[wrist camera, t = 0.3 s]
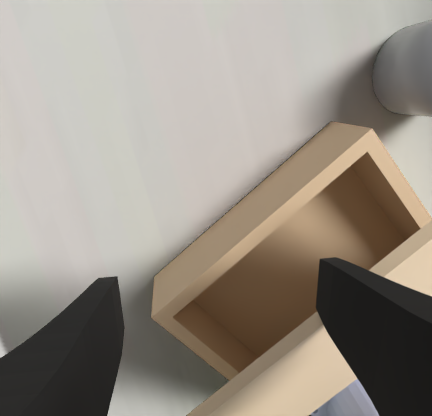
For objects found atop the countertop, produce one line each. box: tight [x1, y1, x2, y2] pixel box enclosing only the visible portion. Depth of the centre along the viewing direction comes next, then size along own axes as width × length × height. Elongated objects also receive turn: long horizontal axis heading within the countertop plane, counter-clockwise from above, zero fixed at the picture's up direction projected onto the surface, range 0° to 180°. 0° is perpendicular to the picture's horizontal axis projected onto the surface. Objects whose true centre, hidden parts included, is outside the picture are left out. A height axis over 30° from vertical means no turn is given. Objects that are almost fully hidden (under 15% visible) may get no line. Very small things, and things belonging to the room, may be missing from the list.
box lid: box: [186, 220, 432, 416], centre depth 17 cm, size 12×15×1 cm
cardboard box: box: [151, 121, 432, 381], centre depth 21 cm, size 12×15×4 cm
